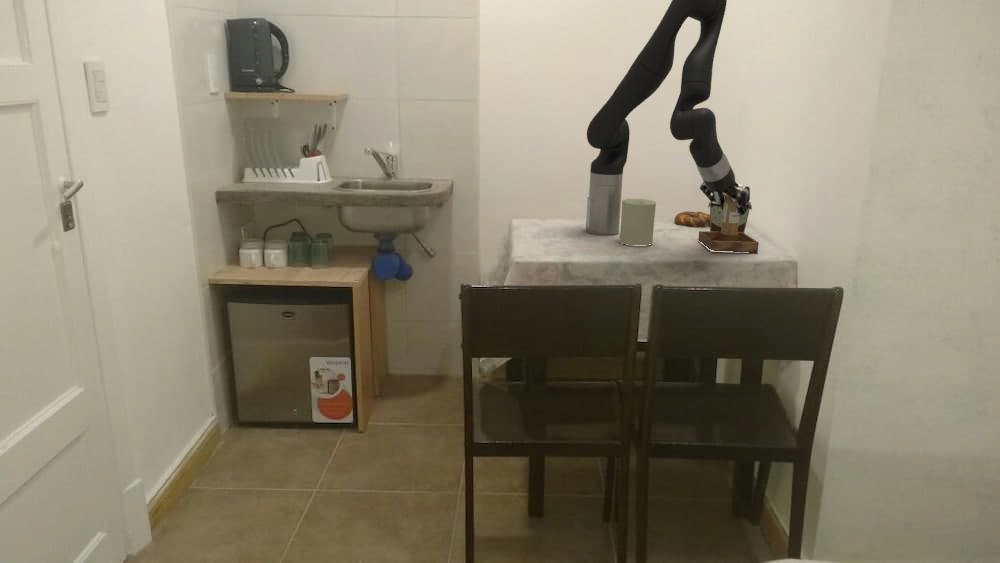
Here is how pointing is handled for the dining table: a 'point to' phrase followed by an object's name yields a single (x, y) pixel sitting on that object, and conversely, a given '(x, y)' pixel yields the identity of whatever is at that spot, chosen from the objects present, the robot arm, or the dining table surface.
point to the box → (728, 242)
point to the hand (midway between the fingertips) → (735, 210)
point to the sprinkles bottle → (730, 217)
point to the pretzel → (693, 219)
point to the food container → (717, 215)
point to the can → (637, 221)
